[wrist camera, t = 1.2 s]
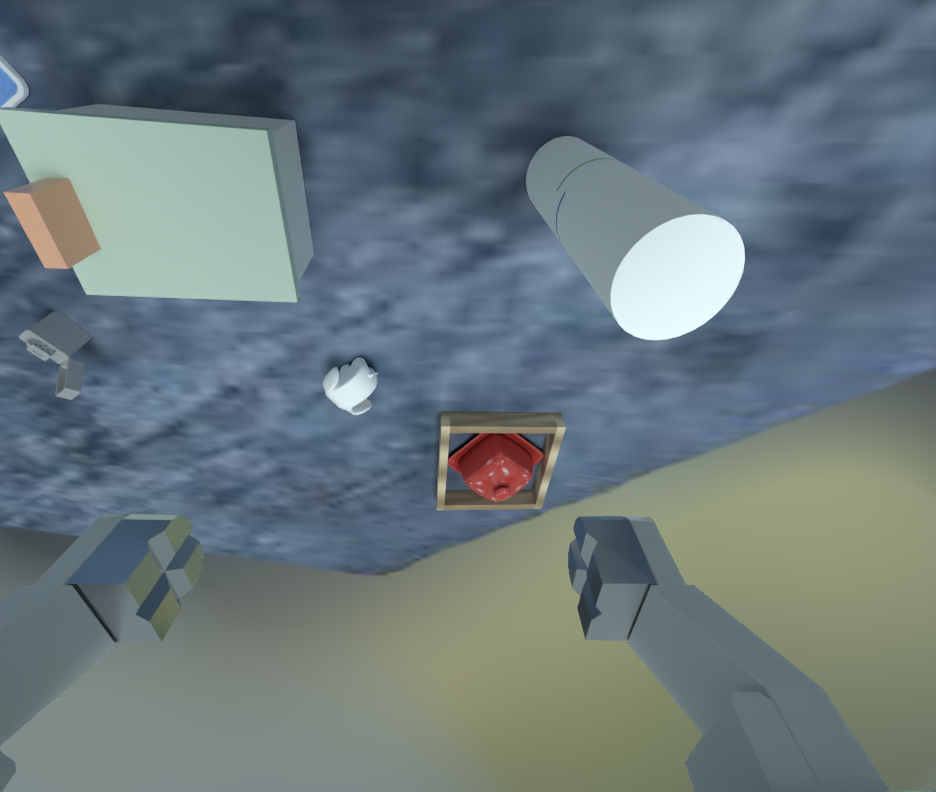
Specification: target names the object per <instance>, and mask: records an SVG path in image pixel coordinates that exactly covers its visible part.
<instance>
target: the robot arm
mask: <svg viewBox="0 0 936 792" xmlns="http://www.w3.org/2000/svg"><path fill="white" fill-rule="evenodd" d="M192 528H193V527H192V525H191V523H190V521H189V519H188V517H187V516H180V515H150V514H105V515H103V516H101V517H99V518H97V519H96V520H95V521H94V522H93V523H92V524H91V525H90V526H89V527H88V528H87V529H86V530H85V531H84V533H83V534H82V535H81V536H80V537H79V538H78V539H77V540H76V541H75V542H74V543H73V544H72V546H70V547H69V548H68V550H67V551H66V552H65V553H64V554H63V555H62V556H61V557H60V558H59V559H58V560H57V561H56V562H55V563H54V565H52V567H51V568H50V569H49V570H48V571H47V572H46V573H45V574H44V575H43V576H42V577H41V578H40V579H39V580H38V581H37V582H36V584H35V585H25V586H23V587H21V588H20V589H18V590H16V591H14V592H13V593H11V594H9V595H7V596H6V597H4V598H2V599H0V746H1V745H2V744H3V743H4V742H5V741H6V740H7V739H9V738H10V737H11V736H12V735H13V734H14V733H16V732H17V731H18V730H19V729H20V728H21V727H22V726H24V725H25V724H26V723H27V722H28V721H30V719H32V718H33V717H34V716H35V715H36V714H38V713H39V712H40V711H41V710H42V709H43V708H45V707H46V706H47V705H48V704H49V703H50V702H51V701H53V700H54V699H55V698H56V697H57V696H58V695H60V694H61V693H62V692H63V691H64V690H65V689H67V688H68V687H69V686H70V685H71V684H72V683H73V682H75V681H76V680H77V679H78V678H79V677H80V676H82V675H83V674H84V673H85V672H86V671H88V670H89V669H90V668H91V667H92V666H93V665H94V664H96V663H97V662H98V661H99V660H100V659H101V658H102V657H104V656H105V655H106V654H107V653H108V652H110V651H111V650H112V649H113V648H114V647H115V646H116V643H127V642H128V643H129V642H160V641H162V640H163V639H164V637H165V635H166V633H167V632H168V630H169V628H170V627H171V625H172V623H173V621H174V620H175V618H176V616H177V615H178V613H179V611H180V610H181V606H180V601H179V598H180V597H182V596H183V595H184V594H186V593H187V592H188V591H190V590H191V589H192V588H193V587H194V585H195V583H196V582H197V580H198V578H199V576H200V574H201V569H202V565H203V561H204V558H203V549H202V547H201V544H200V542H199V541H197V540H196V539H194V538H193V537H191V536H190V535H189V533H190V531H191V530H192ZM574 533H575V536H576V539H575V540H573V541H572V542H571V543H570V548H569V553H568V567H569V575H570V580H571V584H572V588H573V589H574V590H575V591H576V592H577V593H578V594H579V595H580V600H579V604H578V607H577V609H578V613H579V617H580V621H581V624H582V628H583V632H584V636H585V639H586V640H614V641H628V642H627V644H628V645H629V646H630V647H631V648H632V649H633V651H634V652H635V653H636V654H637V656H638V657H639V658H640V659H641V660H642V661H643V663H644V664H645V665H646V666H647V667H648V669H649V670H650V671H651V672H652V673H653V675H654V676H655V677H656V678H657V679H658V681H659V682H660V683H661V684H662V685H663V687H664V688H665V689H666V690H667V691H668V693H669V694H670V695H671V696H672V697H673V699H674V700H675V701H676V702H677V703H678V705H679V706H680V707H681V708H682V709H683V711H684V712H685V713H686V714H687V715H688V717H689V718H690V719H691V720H692V721H693V723H694V724H695V725H696V726H697V727H698V729H699V730H700V731H701V732H702V733H703V736H702V737H701V738H700V740H699V741H698V743H697V744H696V745H695V747H694V748H693V750H692V751H691V752H690V754H689V756H688V757H687V760H686V761H685V764H686V767H687V770H688V773H689V776H690V779H691V781H692V784H693V787H694V790H695V792H936V790H933V791H931V790H930V791H890V790H889V789H888V787H887V786H886V784H885V783H884V781H883V780H882V778H881V777H880V775H879V774H878V772H877V771H876V769H875V767H874V766H873V764H872V763H871V761H870V760H869V758H868V757H867V755H866V754H865V752H864V751H863V749H862V748H861V746H860V745H859V743H858V741H857V740H856V738H855V737H854V735H853V734H852V732H851V731H850V729H849V728H848V726H847V725H846V723H845V721H844V720H843V718H842V717H841V715H840V714H839V712H838V711H837V709H836V708H835V707H834V705H833V703H832V701H831V700H830V698H829V697H828V695H827V694H826V692H825V691H824V689H823V688H821V687H820V686H819V685H818V684H817V683H815V682H814V681H813V680H811V679H810V678H809V677H808V676H807V675H805V674H804V673H803V672H802V671H800V670H799V669H798V668H797V667H795V666H794V665H793V664H792V663H790V662H789V661H788V660H787V659H785V658H784V657H783V656H782V655H780V654H779V653H778V652H776V651H775V650H774V649H773V648H772V647H770V646H769V645H768V644H766V643H765V642H764V641H763V640H761V639H760V638H759V637H758V636H757V635H755V634H754V633H753V632H752V631H750V630H749V629H748V628H747V627H745V626H744V625H743V624H742V623H740V622H739V621H738V620H737V619H735V618H734V617H733V616H732V615H730V614H729V613H728V612H726V611H725V610H724V609H723V608H722V607H720V606H719V605H718V604H717V603H715V602H714V601H713V600H712V599H710V598H709V597H708V596H707V595H705V594H704V593H703V592H702V591H700V590H699V589H698V588H696V587H695V586H694V585H686V584H685V582H684V580H683V578H682V576H681V574H680V572H679V570H678V568H677V566H676V564H675V562H674V560H673V558H672V556H671V554H670V552H669V550H668V548H667V546H666V544H665V542H664V540H663V538H662V536H661V534H660V533H659V530H658V529H657V527H656V525H655V523H654V521H653V520H652V519H651V518H650V517H623V516H603V517H600V516H599V517H578V518H577V519H576V521H575V525H574ZM15 772H16V768H15V762H14V761H13V760H11V759H10V758H9V757H7V756H6V755H5V754H3V753H2V752H1V751H0V792H2V791H3V790H4V788H5V787H6V785H7V784H8V782H9V781H10V779H11V778H12V776H13V775H14V773H15Z"/></svg>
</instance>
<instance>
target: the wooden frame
mask: <svg viewBox="0 0 936 792" xmlns="http://www.w3.org/2000/svg"><path fill="white" fill-rule="evenodd" d="M565 428H566V426H565V424H564V421H563V418H562V416H561V413H488V412H441V417H440V435H439V454H438V472H437V490H436V507H437V510H493V509H541V508H542V505H543V502H544V498H545V495H546V492H547V488H548V485H549V482H550V478H551V475H552V472H553V468H554V465H555V462H556V458H557V455H558V452H559V448H560V445H561V442H562V438H563V435H564V432H565ZM450 433H547V436H546V440H545V443H544V447H543V451H542V453H543V454H544V456H543V458H542V459H541V460H540V462H539V466H538V469H537V473H536V477H535V481H534V484H533V488H532V490H520V491H519V492H517V493H516V494H514V495H513V496H511V497H509V498H508V499H506V500H503V501H500V502H495V501H491V500H489V499H486V498H484V497H483V496H481V495H479V494H478V493H476V492H475V491H473V490H470V491H445V490H446V477H447V464H448V450H449V437H450Z"/></svg>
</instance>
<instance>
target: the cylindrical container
mask: <svg viewBox="0 0 936 792" xmlns="http://www.w3.org/2000/svg"><path fill="white" fill-rule="evenodd" d="M526 188H527V193H528V195H529V198H530V200H531V201H532V203H533V205H534V206H535V207H536V209H537V210H538V212H539V213H540V214H541V216H542V217H543V219H544V220H545V221H546V223H547V224H548V225H549V227H550V228H551V230H552V231H553V233H554V234H555V235H556V237H557V238H558V240H559V241H560V242H561V244H562V245H563V247H564V248H565V249H566V251H567V252H568V254H569V255H570V256H571V258H572V259H573V261H574V262H575V263H576V265H577V266H578V268H579V269H580V270H581V272H582V273H583V275H584V276H585V277H586V279H587V280H588V282H589V283H590V284H591V286H592V287H593V289H594V290H595V291H596V293H597V294H598V296H599V297H600V299H601V300H602V301H603V303H604V304H605V306H606V307H607V308H608V310H609V311H610V313H611V314H612V315H613V317H614V318H615V320H616V321H617V322H618V324H619V325H620V326H621V327H622V328H623V329H624V330H625V331H626V332H628V333H630V334H632V335H633V336H635V337H639V338H642V339H647V340H664V339H670V338H674V337H678V336H681V335H683V334H685V333H688V332H690V331H692V330H694V329H696V328H698V327H699V326H701V325H703V324H704V323H705V322H707V321H708V320H709V319H711V318H712V317H713V316H714V315H715V314H716V313H717V312H718V311H719V310H720V309H721V308H722V307H723V306H724V305H725V304H726V303H727V301H728V300H729V299H730V297H731V296H732V294H733V293H734V291H735V289H736V287H737V286H738V284H739V281H740V278H741V276H742V273H743V268H744V262H745V252H744V245H743V242H742V239H741V236H740V235H739V233H738V232H737V230H736V229H735V228H734V227H733V226H732V225H731V224H730V223H728V222H727V221H726V220H724V219H722V218H721V217H719V216H717V215H715V214H713V213H712V212H710V211H708V210H706V209H704V208H703V207H701V206H699V205H697V204H696V203H694V202H692V201H690V200H688V199H687V198H685V197H683V196H681V195H679V194H678V193H676V192H674V191H672V190H671V189H669V188H667V187H665V186H663V185H662V184H660V183H658V182H656V181H654V180H653V179H651V178H649V177H647V176H646V175H644V174H642V173H640V172H638V171H637V170H635V169H633V168H631V167H629V166H628V165H626V164H624V163H622V162H621V161H619V160H617V159H615V158H613V157H612V156H610V155H608V154H606V153H604V152H603V151H601V150H599V149H597V148H596V147H594V146H592V145H590V144H588V143H587V142H585V141H583V140H581V139H579V138H576V137H572V136H561V137H558V138H554V139H552V140H551V141H549V142H547V143H546V144H544V145H543V146H542V147H541V148H540V149H539V150H538V151H537V152H536V153H535V155H534V156H533V158H532V160H531V162H530V164H529V167H528V170H527V175H526Z"/></svg>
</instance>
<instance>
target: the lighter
mask: <svg viewBox="0 0 936 792" xmlns="http://www.w3.org/2000/svg"><path fill="white" fill-rule="evenodd" d="M19 338H20V339H21V340H23V341H24V342H26V344H27V350H28V351H30V352H31V353H33V354H34V355H36V356H38V357H39V358H41V359H42V360H44V361H46V360H47V359H48V358H51V359H52V360H54V361H55V362H57V363H58V364H61V365H60V368H59V374H58V380H57V386H56V392H55V396H57V397H61V398H66V399H70V400H72V399H73V398H74V397H76V396H77V395H79V393H80V390H81V383H82V375H83V368H84V363H83V362H80V361H77V360H74V359H71V358H70V357H71V356H72V355H73V354H74V353H75V352H76V351H78V350H79V349H80V348H81V347H82V346H83V345H85V344H86V343H87V342H88V341H89V340H90V339H92V338H93V336H92V335H91V334H89V333H88V332H87V331H85V330H84V329H82V328H81V327H80V326H78V325H77V324H75V323H74V322H73V321H71V320H70V319H68V318H67V317H66V316H64V315H63V314H61V313H60V312H59V311H57V310H54V311H53V312H51V313H50V314H49V315H47V316H46V317H44V318H43V319H41V320H40V321H39V322H37V323H36V324H34V325H33V326H31V327H30V328H29V329H27V330H26V331H25V332H23V333H22V334H21V335H20V336H19Z"/></svg>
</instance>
